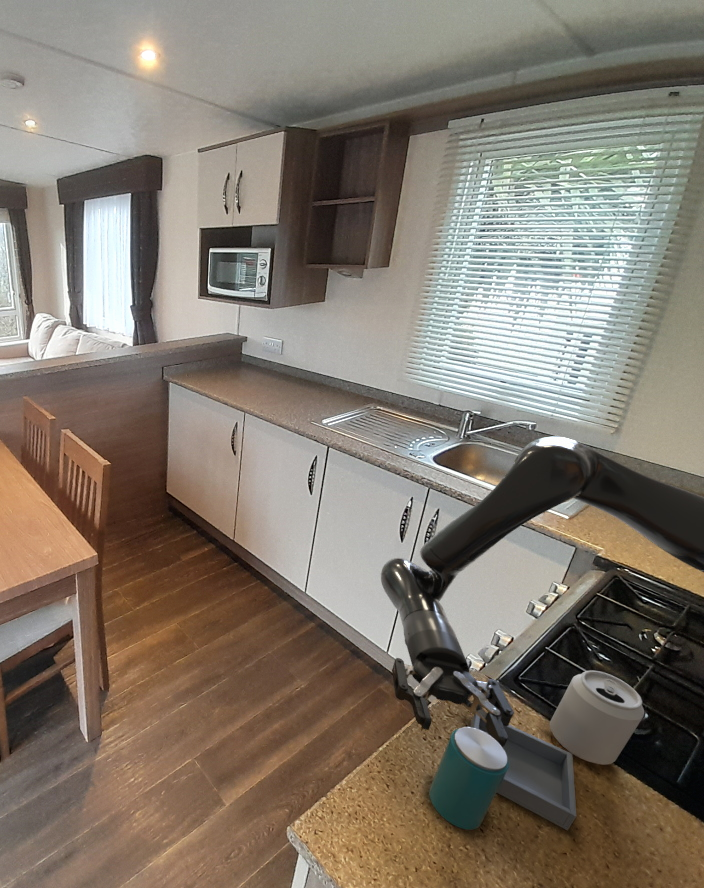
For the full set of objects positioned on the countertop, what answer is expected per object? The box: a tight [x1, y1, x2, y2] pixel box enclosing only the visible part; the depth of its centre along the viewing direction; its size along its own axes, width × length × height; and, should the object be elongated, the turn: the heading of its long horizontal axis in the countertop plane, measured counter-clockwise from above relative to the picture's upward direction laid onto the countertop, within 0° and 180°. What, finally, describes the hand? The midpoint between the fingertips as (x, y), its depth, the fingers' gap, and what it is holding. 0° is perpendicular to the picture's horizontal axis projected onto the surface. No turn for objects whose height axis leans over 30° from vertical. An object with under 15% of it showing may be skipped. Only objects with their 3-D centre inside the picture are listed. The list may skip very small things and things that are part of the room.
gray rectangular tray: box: [469, 714, 577, 831], centre depth 68 cm, size 11×10×3 cm
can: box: [548, 669, 645, 766], centre depth 70 cm, size 8×8×12 cm
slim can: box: [428, 726, 509, 831], centre depth 62 cm, size 6×6×12 cm
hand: (463, 735), depth 65 cm, fingers open, 8 cm apart
